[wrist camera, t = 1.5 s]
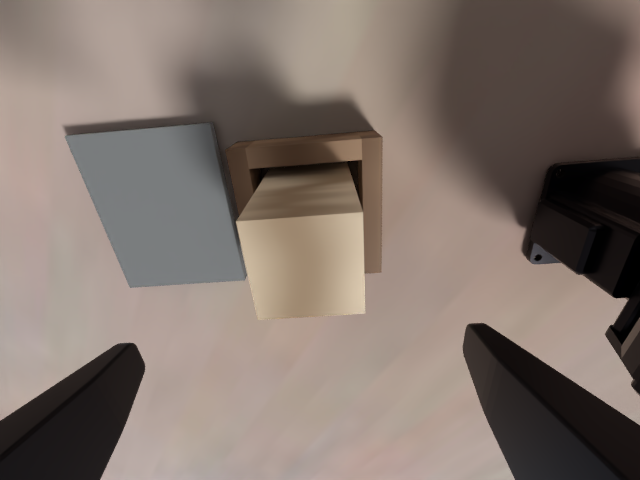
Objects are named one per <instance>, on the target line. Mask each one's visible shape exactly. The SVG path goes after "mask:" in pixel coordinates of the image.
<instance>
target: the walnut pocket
mask: <svg viewBox="0 0 640 480" xmlns="http://www.w3.org/2000/svg"><path fill="white" fill-rule="evenodd" d="M225 152H226V157H227V162H228V166H229V171H230V176H231V180H232V185H233V190H234V194H235V199H236V204H237V208H238V213H239V216H240V214H241V213H242V211H243V210H244V208H245V207H246V205H247V203H248V202H249V200H250V199H251V197H252V196H253V194H254V192H255V191H256V189H257V188H258V186H259V185H260V183H261V181H262V179H261V173H260V168H266V167H279V166H291V165H304V164H316V163H328V162H341V161H353V160H357V168H358V198H359V201H360V204H361V207H362V210H363V232H364V274H365V273H380V272H381V258H382V136H381V135H379V134H378V133H377V132H376V131H375V130H374V131H362V132H350V133H339V134H327V135H315V136H303V137H291V138H280V139H268V140H256V141H244V142H237V143H235V144H234V145H232V146H231V147H229V148H228V149H226V150H225Z"/></svg>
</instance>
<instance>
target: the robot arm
mask: <svg viewBox="0 0 640 480" xmlns="http://www.w3.org/2000/svg"><path fill="white" fill-rule="evenodd" d="M559 170H560V173H559V174H558V175H557V176H556V173H557V171H559ZM536 255H538V256H537V257H536V258H534V257H535V256H536ZM526 258H527V260H529V261H530V262H531V263H532V264H549V263H562V264H564V265H565V266H566V267H568V268H569V269H570V270H572V271H573V272H575V273H576V274H578V275H583V276H585V277H586V278H587V279H589V280H590V281H592V282H593V283H594V284H596V285H597V286H598V287H600V288H601V289H603V290H604V291H605V292H607V293H608V294H609V295H611V296H612V297H614V298H626V299H627V300H628V301H627V303H626V304H625V306H624V308H623V309H622V311H621V313H620V314H619V316H618V318H617V319H616V321H615V323H614V324H613V325H610V326H609V328H608V330H607V331H606V333H605V335H606V337H607V339H608V340H609V342H610V343H611V345H612V346H613V348H614V350H615V351H616V353H617V354H618V356H619V357H620V359H621V360H622V362H623V364H624V365H625V367H626V368H627V370H628V371H629V373H630V375H631V376H632V378H633V381H632V382H631V385H632V387H633V389H634V390H635V391H636V393H637V394H638V395H639V396H640V157H631V158H618V159H605V160H593V161H580V162H567V163H557V164H554V165H552V166H551V167H550V168H549V169H548V171H547V174H546V178H545V182H544V186H543V191H542V195H541V199H540V202H539V203H538V207H537V212H536V216H535V220H534V224H533V228H532V232H531V236H530V243H529V247H528V251H527V255H526ZM463 354H464V357H465V360H466V363H467V366H468V369H469V372H470V374H471V377H472V380H473V383H474V386H475V389H476V392H477V395H478V397H479V400H480V403H481V406H482V408H483V411H484V414H485V416H486V418H487V421H488V423H489V425H490V427H491V429H492V431H493V434H494V436H495V438H496V440H497V442H498V444H499V446H500V448H501V451H502V453H503V455H504V457H505V459H506V461H507V463H508V465H509V468H510V470H511V472H512V474H513V476H514V478H515V480H640V425H638V424H637V423H635V422H634V421H632V420H631V419H629V418H628V417H626V416H625V415H623V414H622V413H620V412H619V411H617V410H616V409H614V408H613V407H611V406H609V405H608V404H606V403H605V402H603V401H602V400H600V399H599V398H597V397H596V396H594V395H593V394H591V393H590V392H588V391H587V390H585V389H584V388H582V387H581V386H579V385H578V384H576V383H575V382H573V381H572V380H570V379H569V378H567V377H565V376H564V375H562V374H561V373H559V372H558V371H556V370H555V369H553V368H552V367H550V366H549V365H547V364H546V363H544V362H543V361H541V360H540V359H538V358H537V357H535V356H534V355H532V354H531V353H529V352H528V351H526V350H524V349H523V348H521V347H520V346H518V345H517V344H515V343H514V342H512V341H511V340H509V339H508V338H506V337H505V336H503V335H502V334H500V333H499V332H497V331H496V330H494V329H493V328H491V327H490V326H488V325H486V324H484V323H472V324H468V325H467V327H466V331H465V337H464V342H463ZM144 372H145V363H144V361H143V359H142V357H141V354H140V352H139V350H138V348H137V346H136V345H135V344H134V343H120V344H117V345H115V346H113V347H112V348H110V349H109V350H107V351H106V352H104V353H103V354H101V355H100V356H98V357H97V358H95V359H94V360H92V361H91V362H89V363H87V364H86V365H84V366H83V367H81V368H80V369H78V370H77V371H75V372H74V373H72V374H71V375H69V376H68V377H66V378H65V379H63V380H62V381H60V382H59V383H57V384H56V385H54V386H53V387H51V388H50V389H48V390H46V391H45V392H43V393H42V394H40V395H39V396H37V397H36V398H34V399H33V400H31V401H30V402H28V403H27V404H25V405H24V406H22V407H21V408H19V409H18V410H16V411H15V412H13V413H12V414H10V415H9V416H7V417H5V418H4V419H2V420H1V421H0V480H100V479H101V477H102V474H103V472H104V470H105V468H106V466H107V464H108V462H109V460H110V457H111V455H112V453H113V451H114V449H115V447H116V445H117V443H118V440H119V438H120V436H121V434H122V431H123V429H124V427H125V424H126V422H127V419H128V416H129V414H130V411H131V408H132V405H133V403H134V400H135V397H136V394H137V392H138V389H139V386H140V383H141V381H142V378H143V375H144Z"/></svg>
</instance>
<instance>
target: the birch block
mask: <svg viewBox="0 0 640 480" xmlns="http://www.w3.org/2000/svg"><path fill="white" fill-rule="evenodd" d="M236 224H237V229H238V233H239V238H240V242H241V247H242V251H243V256H244V260H245V265H246V269H247V274H248V278H249V283H250V287H251V292H252V296H253V301H254V305H255V310H256V314H257V319H258V320H266V319H283V318H299V317H316V316H333V315H350V314H365V279H364V232H363V210H362V207H361V204H360V201H359V198H358V195H357V192H356V189H355V185H354V182H353V179H352V176H351V173H350V170H349V167H348V164H347V162H336V163H324V164H311V165H299V166H287V167H274V168H270V169H269V170H268V172H267V174H266V175H265V177H264V178H263V180H262V181H261V183H260V185H259V186H258V188H257V189H256V191H255V192H254V194H253V196H252V197H251V199H250V200H249V202H248V203H247V205H246V207H245V208H244V210H243V211H242V213H241V214H240V216H239V218H238V219H237V221H236Z"/></svg>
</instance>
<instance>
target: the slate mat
mask: <svg viewBox="0 0 640 480" xmlns="http://www.w3.org/2000/svg"><path fill="white" fill-rule="evenodd" d="M65 138H66V141H67V143H68V145H69V148H70V150H71V152H72V154H73V157H74V159H75V161H76V164H77V166H78V168H79V171H80V173H81V175H82V178H83V180H84V182H85V185H86V187H87V189H88V192H89V194H90V196H91V199H92V201H93V203H94V205H95V208H96V210H97V212H98V215H99V217H100V219H101V222H102V224H103V226H104V229H105V231H106V233H107V236H108V238H109V240H110V243H111V245H112V247H113V250H114V252H115V254H116V256H117V259H118V261H119V263H120V266H121V268H122V270H123V273H124V275H125V277H126V280H127V282H128V284H129V287H130V288H133V287H148V286H164V285H179V284H194V283H210V282H225V281H240V280H245V279H246V276H247V274H246V270H245V265H244V261H243V256H242V252H241V247H240V243H239V238H238V234H237V229H236V225H235V220H234V216H233V211H232V207H231V202H230V198H229V193H228V189H227V184H226V180H225V175H224V171H223V166H222V162H221V157H220V153H219V148H218V144H217V139H216V135H215V130H214V126H213V122H209V123H198V124H186V125H175V126H164V127H152V128H141V129H129V130H118V131H107V132H95V133H84V134H72V135H67V136H65Z"/></svg>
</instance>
